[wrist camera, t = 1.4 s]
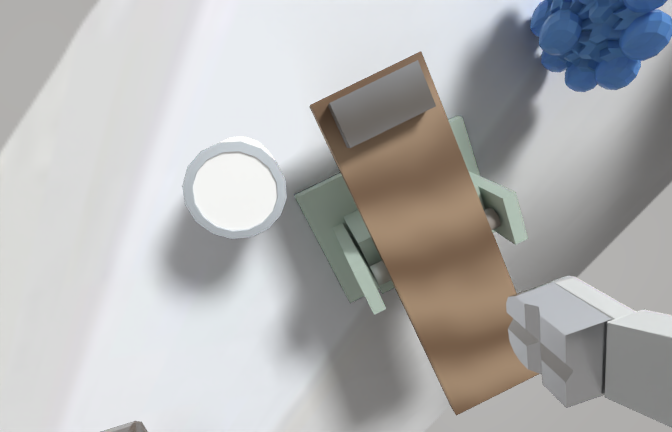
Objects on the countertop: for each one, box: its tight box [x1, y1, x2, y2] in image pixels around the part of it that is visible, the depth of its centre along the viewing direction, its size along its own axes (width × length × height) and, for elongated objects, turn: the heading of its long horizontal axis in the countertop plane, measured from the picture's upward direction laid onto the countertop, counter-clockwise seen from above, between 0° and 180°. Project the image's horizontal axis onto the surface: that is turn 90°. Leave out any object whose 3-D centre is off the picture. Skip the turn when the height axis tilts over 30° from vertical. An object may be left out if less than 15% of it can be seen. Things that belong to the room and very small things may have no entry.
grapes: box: [530, 0, 672, 92], centre depth 27 cm, size 12×7×12 cm, turn 28°
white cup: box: [182, 136, 287, 239], centre depth 29 cm, size 7×7×7 cm
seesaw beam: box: [310, 52, 539, 415], centre depth 28 cm, size 26×10×4 cm, turn 25°
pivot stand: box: [295, 116, 528, 315], centre depth 32 cm, size 16×12×10 cm
